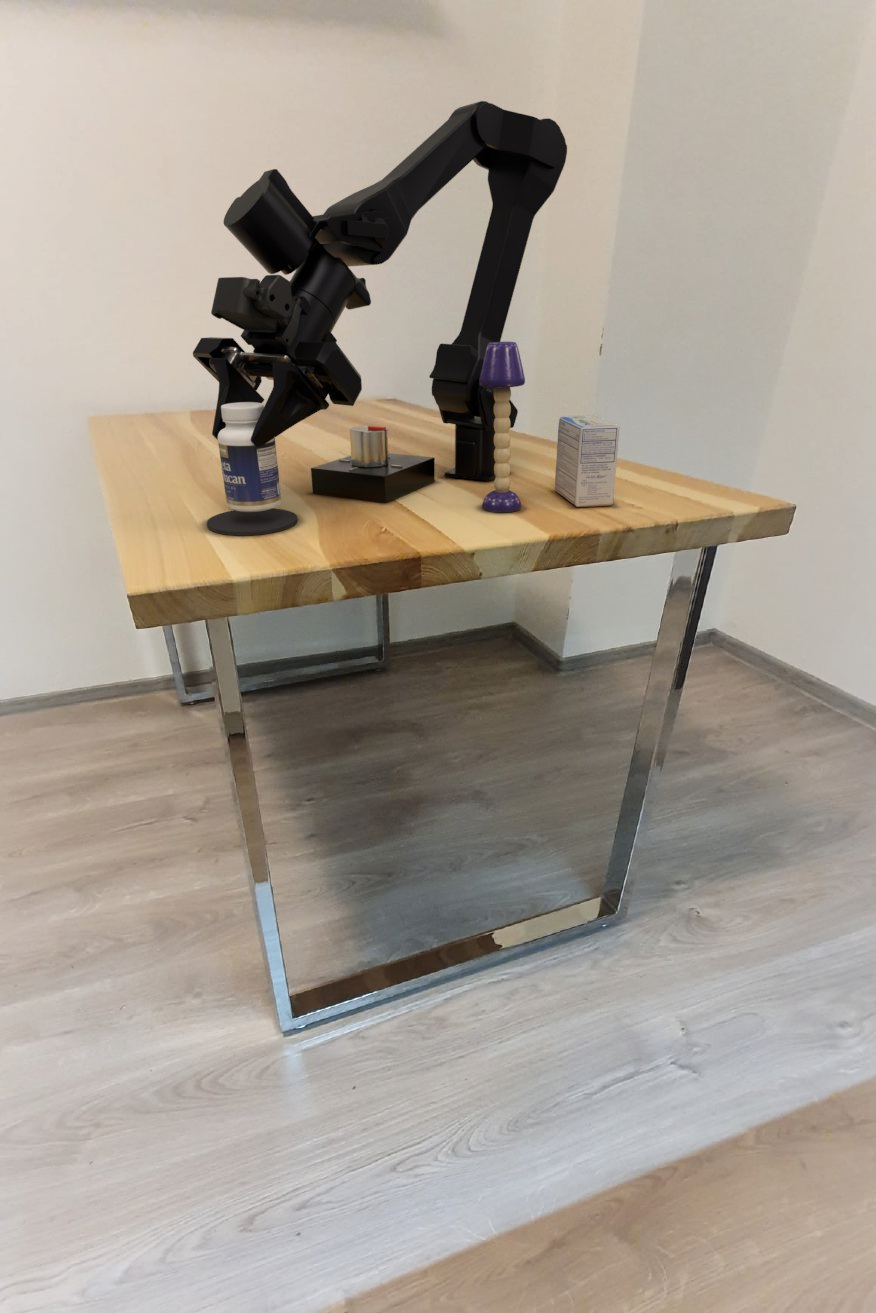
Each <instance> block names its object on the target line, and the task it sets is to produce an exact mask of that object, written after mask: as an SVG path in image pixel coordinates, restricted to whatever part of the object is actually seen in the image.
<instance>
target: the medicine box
mask: <svg viewBox="0 0 876 1313" xmlns="http://www.w3.org/2000/svg"><path fill="white" fill-rule="evenodd" d="M557 428H558V429H557V445H556V461H555V462H556V463H555V475H554V476H555V477H554V491H555V492H556V493H558V494H559V495H561V496H562V497H563V498H564V499H566V500H567V501H568V502H570V503H571V504H573V506H575V507H578V508H588V507H589V508H590V507H610V506H611V505H613V504H614V495H615V485H616V474H617V473H616V472H617V464H618V451H619V441H620V425H619V424H617V423H614V422H613V421H611V420H608V419H606V418H603V417H599V416H598V415H595V414H594V415H592V414H577V415H575V414H574V415H566V416H560V417H559V419H558V427H557Z"/></svg>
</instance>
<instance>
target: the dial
mask: <svg viewBox="0 0 876 1313" xmlns="http://www.w3.org/2000/svg"><path fill="white" fill-rule="evenodd" d="M349 441H350V456H351V463H352V465H354V466H357V467H381V466H385V465H388V464H389V454H388V453H389V428H387V427H386V426H381V425H360V426H353V427H350V428H349Z"/></svg>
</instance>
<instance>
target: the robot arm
mask: <svg viewBox="0 0 876 1313" xmlns="http://www.w3.org/2000/svg"><path fill="white" fill-rule="evenodd" d="M567 155H568V146H567V142H566V138H565V136H564V133H563V132H562V129H561V127H560V125H559V124H558V123H557V122H556V121H555V120H554V119H552V118H540V119H539V118H538V117H535V116H532V115H528V114H524V113H519V112H516V111H511V110H507V109H503V108H502V107H500V106H498V105H496V104H494V103H492V102H488V101H485V100H480V101H476V102H473V103H470V104H467V105H462V106H460V107H458V108H456V109H455V110H454V111H453V112H452V113H451V114H450V116H449V117H448V119H447V120H446V121H445V122H444V123H442V125H441V126H439V128H437V129H436V130H435V131H434V132H432V134H431V135H430V136H428V137H427V138H426V139H424V141H422V143H421V144H420V145H419V146H417V147H416V148H415V149H413V151H411V153H410V154H408V155H407V156H406V158H403V159H402V161H401V162H400V163H399V164H398V165H397V166H395V168H393V169H392V170H391V171H389V173H388V174H387V175H385V176H384V177H383V178H382V179H381V180H378V181H377V182H375V183H374V184H373V183H372V184H371V185H369V186H367V187H365V188H363V189H360V190H358V191H356V192H353V193H352V194H349V195H348V196H346V197H344V198H342V199H341V200H339V201H337V202H335V203H333V204H331V205H330V206H329V207H327V209H326V210H325V211H324V213H323V214H318V215H312V214H311V213H310V211H309V210H308V209H307V208H306V206H305V205H304V204H303V203H302V201H301V200H300V199H299V198H298V196H297V195H296V194H295V193H294V191H292V189H291V186H289V183H288V182H287V179H285V178H284V176H283V175H282V173H281V172H280V171H279V170H278V169H277V168H273V169H269V170H266V171H264V172H263V173H262V175H261V176H260V178H259V179H258V180H257V181H255V182H254V183H252V184H251V185H250V186H249V187H248V188H247V189H246V190H245V191H244V192H243V193H242V194H241V195H240V196H238V197H236V198H235V199H234V200H233V201H232V202H231V205H230V206H229V207H228V208H227V211H226V213H225V215H224V218H223V225H224V227H225V228H226V229H227V230H228V231H229V232H230V234H232V235H233V237H235V239H236V240H237V241H238V242H239V243H240V244H241V245H242V246H243V247H244V248H245V249H246V250H247V251H248V252H249V254H250V255H251V256H252V257H253V258H254V259H255V260H256V261H257V262H258V263H259V265H261V267H262V268H263V269H264V270H265V271H266V272H267V273H268V274H267V275H264V277H263V278H262V279H261V280H259V279H258V278H249V277H245V276H230V277H228V276H226V277H218V278H217V283H216V287H215V292H214V297H213V301H212V307H211V312H210V313H211V316H213V317H214V318H216V319H219V320H221V319H223V320H224V321H226V322H228V323H230V324H232V325H233V326H236V327H238V328H239V329H241V330H243V331H242V332H241V334H240V337H241V339H242V340H243V341H244V342H245V343H246V344H247V345H248V346H251V347H253V350H252V352H246V351H245V350H244V349H243V348H242V346H241V345H240V344H239V343H238V342H237V341H236V340H235V339H234V338H233V337H214V336H213V337H212V336H211V337H210V336H209V337H201V338H200V339H199V341H198V343H197V345H196V346H195V348H194V349H193V351H192V356H193V358H194V359H195V360H196V361H197V362H198V363H199V364H200V365H201V366H202V367H203V368H204V369H205V370H206V371H207V372H208V373H209V374H210V375H211V376H212V377H213V378H214V379H215V380H216V381H217V382H218V394H217V402H216V408H215V414H214V420H213V425H212V430H211V431H212V433H211V435H212V437H213V438H215V439H216V441H218V434H219V432H220V431H221V430H222V429H224V428H225V427H226V423H225V422H223V418H222V412H221V406H222V405H224V404H229V403H238V402H256V403H262V404H263V403H264V402H265V398H264V397H263V396H262V395H261V394H260V393H259V392H258V390H259V387H260V385H261V384H262V382H263V381H262V380H263V379H262V378H266V379H267V380H270V381H272V382H273V385H272V389H271V392H270V393H269V396H268V398H267V400H266V403H265V404H264V408H263V411H262V413H261V415H260V417H259V419H258V421H257V423H256V426H255V428H254V431H253V434H252V436H251V442H252V443H253V444H254V445H255V446H256V447H261V446H263V445H264V444H266V443H267V442H269V441H270V440H272V439H273V438H275V439H276V437H278V436H280V435H281V434H283V433H284V432H286V431H287V430H289V429H291V428H292V427H294V426H295V425H297V424H299V423H300V422H302V421H304V420H306V419H307V418H309V417H310V416H312V415H314V414H316V413H318V412H320V411H324V410H327V409H328V408H329V407H330V403H329V402H328V401H327V397H329V400H330V402H331V403H332V404H333V405H339V406H350V407H353V406H354V405H355V404H356V401H358V398H359V396H360V394H361V392H362V389H363V386H362V375H361V374H360V373H359V371H358V370H357V369H356V367H355V366H354V364H353V363H352V362H351V361H350V360H349V358H348V357H347V355H346V354H345V352H344V351H343V350H342V348H341V347H340V346H339V344H337V341H338V340H337V338H336V337H335V336H334V334H333V333H332V332H333V331H334V328H335V326H336V325H337V323H338V321H339V319H340V317H341V315H342V313H343V312H344V310H345V308H346V309H347V310H349V311H350V310H355V309H359V308H365V307H369V306H370V305H371V304H372V299H371V294H370V292H369V290H368V288H367V283H366V278H364V277H357V276H356V274H355V273H354V272H353V271H352V270H351V269H350V267H362V266H377V265H382V264H384V263H385V262H387V261H389V259H390V258H392V256H393V255H394V254H395V252H396V251H397V249H398V248H399V247H400V245H401V244H402V242H403V241H404V239H405V238H406V237H407V235H408V233H409V230H410V226H411V223H412V220H413V218H414V217H415V216H416V215H417V213H418V212H419V210H421V209H422V208H423V207H424V206H425V205H426V204H428V202H429V201H430V200H431V199H432V198H434V197H435V196H436V195H437V194H438V193H439V192H440V191H441V190H442V189H443V188H444V187H445V186H446V185H447V184H449V183H450V181H452V180H453V179H454V178H455V177H456V176H457V175H458V174H459V173H460V172H461V171H463V169H465V167H466V166H468V165H469V164H470V163H471V162H472V161H473V162H474V164H476V166H479V167H480V168H483V169H484V170H487V171H488V172H487V185H488V189H489V194H490V198H491V203H492V207H491V212H490V214H489V220H488V223H487V227H486V231H485V235H484V239H483V242H482V246H481V250H480V255H479V257H478V262H477V265H476V270H475V273H474V278H473V281H472V286H471V289H470V294H469V297H468V301H467V305H466V309H465V312H464V317H463V320H462V325H461V329H460V331H459V334H458V335H457V336H456V338H455V339H454V340H453V341H452V343H440V344H439V345H438V347H437V349H436V355H435V361H434V366H433V369H432V371H431V372H430V374H429V379H432V383H431V396H432V397H433V398H434V401H435V404H436V406H438V407H437V408H438V410H439V414H440V417H441V422H442V423H443V424H450V425H454V467H452V468H450V469H448V470H446V471H444V473H443V476H444V477H449V478H458V479H459V478H460V479H466V480H467V479H468V480H475V481H477V480H478V481H487V482H488V481H489V482H490V481H492V480H493V481H494V480H495V478H496V476H495V473H494V465H495V463H496V462H495V460H494V450H495V448H496V447H495V445H494V435H495V430H494V419H495V415H494V404H495V399H494V388H487V387H482V386H480V384H479V380H480V374H481V370H482V365H483V361H484V356H485V352H486V348H487V345H488V344H489V343H491V342H502V338H503V337H502V336H503V333H504V329H505V325H506V321H507V318H508V315H509V311H510V307H511V303H512V300H513V297H514V292H515V288H516V285H517V281H518V277H519V274H520V269H521V267H522V262H523V260H524V259H523V258H524V255H525V251H526V248H527V244H528V240H529V237H530V233H531V229H532V225H533V222H534V219H535V216H536V215H537V214H538V212H539V211H540V210H541V208H542V207H543V206H544V205H545V203H546V202H547V201H548V199H549V198H550V197H551V195H552V194H553V193H554V191H555V189H556V187H557V184H558V182H559V179H560V177H561V175H562V172H563V170H564V167H565V164H566V160H567ZM279 272H280V273H282V274H283V275H285V276H287V275H290V274H293V275H292V277H291V278H290V280H288V279H287V278H286V277H284V276H283V275H281V274H278V273H279ZM509 403H510V406H511V412H510V415H509V419H510V423H511V426H510V429H513V428H514V427H515V424H516V420H517V417H518V413H519V411H518V408H517V407H516V405H514V403H513V401H512V400H511V399H510V400H509Z"/></svg>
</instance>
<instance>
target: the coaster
mask: <svg viewBox="0 0 876 1313" xmlns="http://www.w3.org/2000/svg"><path fill="white" fill-rule="evenodd" d="M297 523H298V515H297V513H295V512H293V511H291V510H288V509H282V508H276V507H275V508H273V509H269V510H266V511H258V512H241V511H235V510H228V511H223V512H221V513H218V514H215V515H213V516H211V517H210V518H208V519H207V521H206V527H207V529H208V530H209V531H211V532H214V533H216V534H221V535H225V536H240V537H241V536H243V537H245V536H260V535H268V534H274V533H278V532H281V531H285V530H288V529H290V528H292V527H294V526H296V524H297Z"/></svg>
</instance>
